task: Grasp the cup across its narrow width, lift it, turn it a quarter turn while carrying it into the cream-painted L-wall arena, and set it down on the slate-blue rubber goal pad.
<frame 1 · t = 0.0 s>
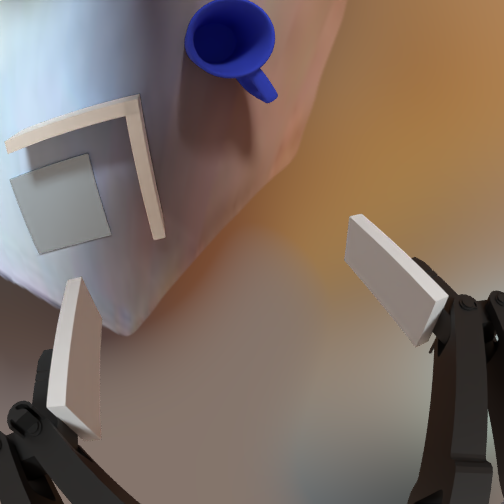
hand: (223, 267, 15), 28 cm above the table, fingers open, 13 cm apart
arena: (134, 100, 33), on the table
goal pad: (59, 206, 37), on the table
mug: (221, 54, 33), on the table
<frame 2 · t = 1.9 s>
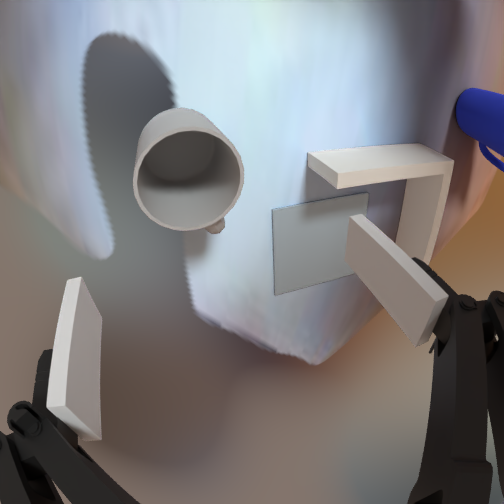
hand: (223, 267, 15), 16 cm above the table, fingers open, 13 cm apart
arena: (415, 148, 34), on the table
goal pad: (320, 244, 38), on the table
mug: (468, 120, 34), on the table
cup: (184, 158, 28), on the table
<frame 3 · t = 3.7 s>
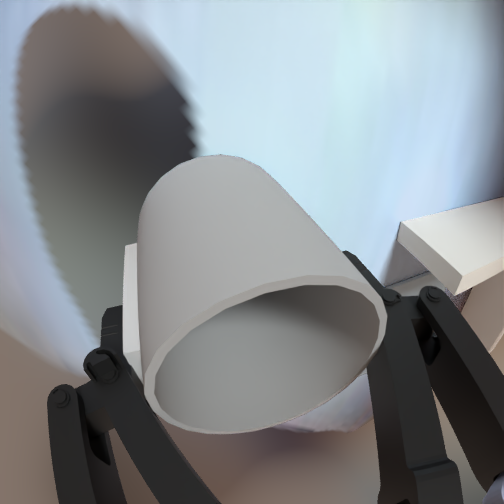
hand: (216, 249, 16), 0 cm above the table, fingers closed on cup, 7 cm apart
goal pad: (388, 330, 27), on the table
cup: (223, 241, 17), on the table, touching gripper
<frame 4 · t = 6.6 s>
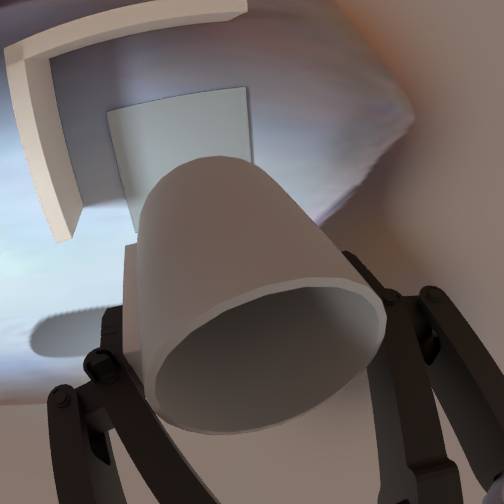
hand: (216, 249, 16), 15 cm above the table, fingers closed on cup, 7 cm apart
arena: (40, 53, 18), on the table
goal pad: (185, 160, 28), on the table
cup: (223, 242, 17), point 14 cm above the table, touching gripper
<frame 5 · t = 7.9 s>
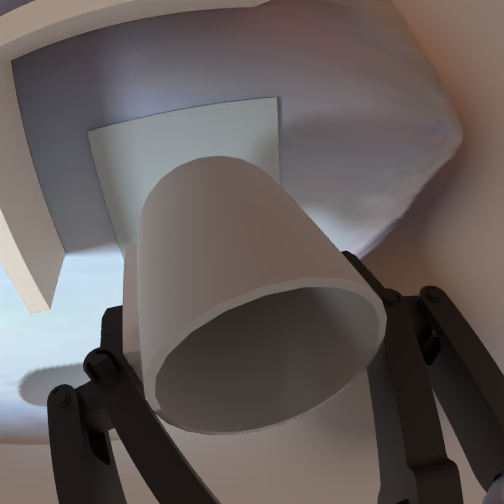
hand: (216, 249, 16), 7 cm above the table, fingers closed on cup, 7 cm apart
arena: (0, 54, 12), on the table
goal pad: (195, 195, 21), on the table
cup: (223, 242, 17), point 6 cm above the table, touching gripper
when the fingers open (2 cm above the table, at t = 9.2 s): cup drops 1 cm, resting on goal pad.
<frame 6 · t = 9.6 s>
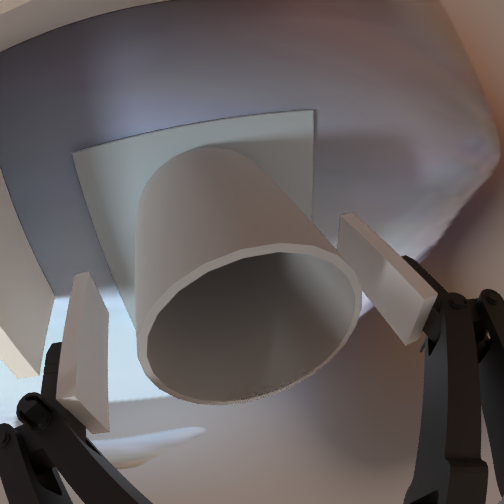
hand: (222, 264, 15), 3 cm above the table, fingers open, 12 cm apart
goal pad: (209, 230, 18), on the table
cup: (216, 229, 18), resting on goal pad
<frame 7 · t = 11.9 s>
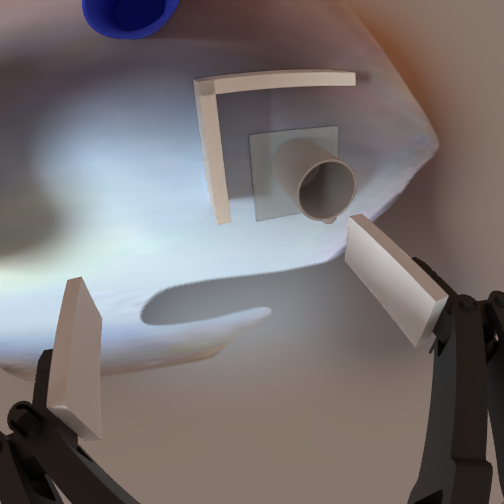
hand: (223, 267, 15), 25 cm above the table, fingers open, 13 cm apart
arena: (200, 84, 32), on the table
goal pad: (296, 172, 41), on the table
mug: (154, 1, 25), on the table
cup: (299, 172, 41), resting on goal pad
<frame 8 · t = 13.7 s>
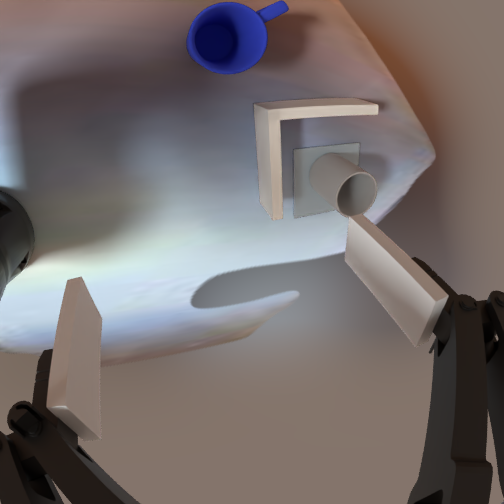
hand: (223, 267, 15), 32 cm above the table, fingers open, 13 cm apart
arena: (258, 107, 42), on the table
goal pad: (326, 179, 51), on the table
mug: (223, 35, 35), on the table
cup: (328, 179, 51), resting on goal pad
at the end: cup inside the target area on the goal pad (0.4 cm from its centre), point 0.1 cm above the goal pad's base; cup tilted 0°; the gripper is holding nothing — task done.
